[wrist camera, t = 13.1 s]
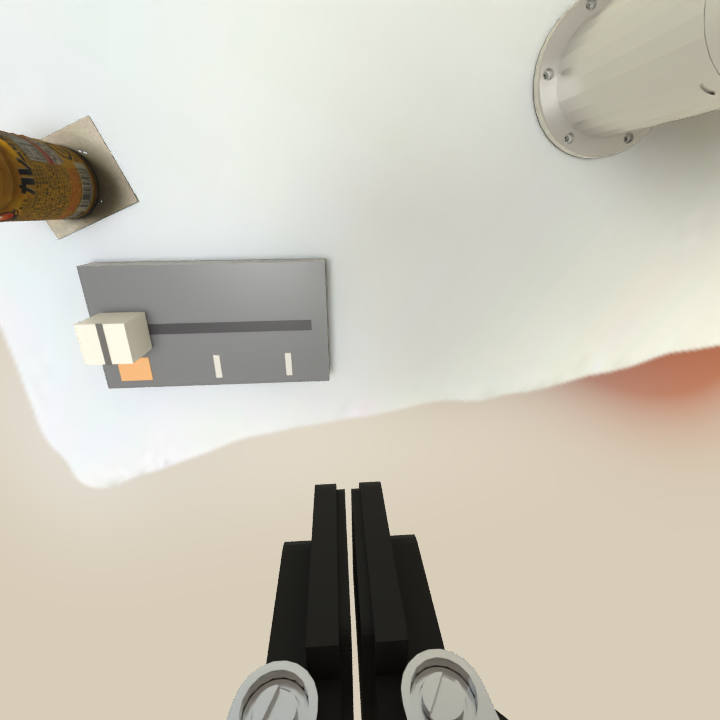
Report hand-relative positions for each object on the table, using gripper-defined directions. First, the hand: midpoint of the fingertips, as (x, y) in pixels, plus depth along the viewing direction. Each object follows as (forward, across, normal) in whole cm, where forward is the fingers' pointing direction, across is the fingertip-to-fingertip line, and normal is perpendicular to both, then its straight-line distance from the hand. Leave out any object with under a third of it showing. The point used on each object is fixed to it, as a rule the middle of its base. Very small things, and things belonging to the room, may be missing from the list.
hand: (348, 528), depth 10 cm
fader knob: (+29, +20, +3) cm, 35 cm away
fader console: (+32, +12, +3) cm, 34 cm away
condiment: (+32, +23, -10) cm, 41 cm away
